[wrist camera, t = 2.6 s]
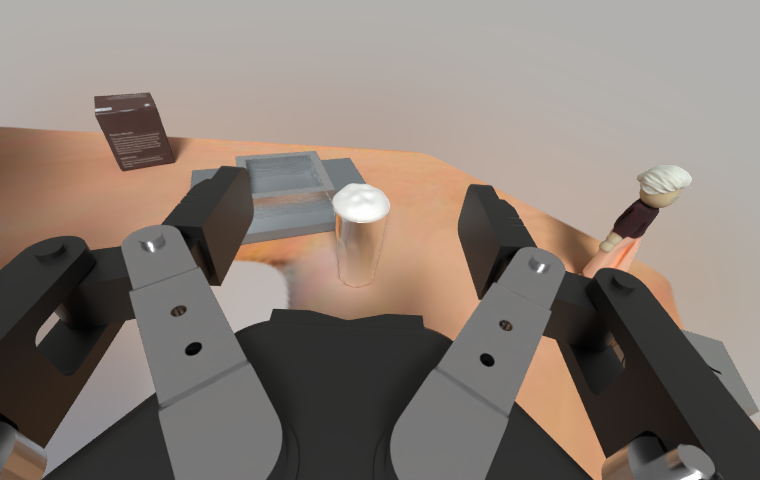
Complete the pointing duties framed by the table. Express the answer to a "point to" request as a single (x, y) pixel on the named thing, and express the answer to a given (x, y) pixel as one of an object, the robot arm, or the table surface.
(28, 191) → the table surface
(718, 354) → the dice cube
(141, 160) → the box
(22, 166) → the table surface
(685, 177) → the grandmother figurine
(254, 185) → the dock
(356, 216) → the milkshake
